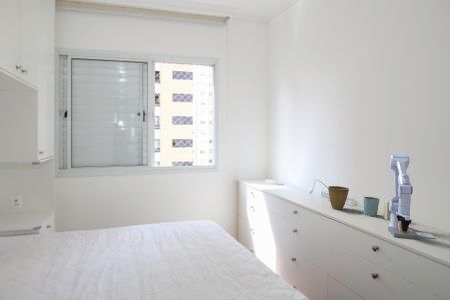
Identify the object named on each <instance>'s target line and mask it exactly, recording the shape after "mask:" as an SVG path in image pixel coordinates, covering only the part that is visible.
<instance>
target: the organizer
mask: <svg viewBox="0 0 450 300" xmlns="http://www.w3.org/2000/svg"><path fill="white" fill-rule="evenodd" d="M387 231H388V232H389V233H390V234H391V235H392V236H393V238H401V239H410V240H411V239H412V240H420V237H419V235H418V234H416V233H415V232H416V231H414V230H413V229H412V228H409V227H408V233H407V232H399V231H398V227H390V226H387Z"/></svg>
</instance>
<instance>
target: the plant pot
mask: <svg viewBox="0 0 450 300" xmlns="http://www.w3.org/2000/svg"><path fill="white" fill-rule="evenodd" d="M327 189H328V191H327V192H328V197H329V202H330V205H331V208H332V210H337V209H338V210H341V209H342V210H343V209H344V206H345V204H346V202H347V198H348V196H349V191H350V188H349V187H346V186H339V185H338V186H337V185H330V186H328V187H327ZM338 210H337V211H338Z"/></svg>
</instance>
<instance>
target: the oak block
mask: <svg viewBox="0 0 450 300" xmlns="http://www.w3.org/2000/svg"><path fill="white" fill-rule="evenodd" d="M398 231H399V232H404V231H402V225H401V221H398ZM407 233H408V230H407Z"/></svg>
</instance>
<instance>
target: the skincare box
mask: <svg viewBox="0 0 450 300" xmlns="http://www.w3.org/2000/svg"><path fill="white" fill-rule="evenodd" d="M389 201H390V200H384V205H383V219H384V220H386V221H390V215H391V213H392V212H391V211H390V210H389Z"/></svg>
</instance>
